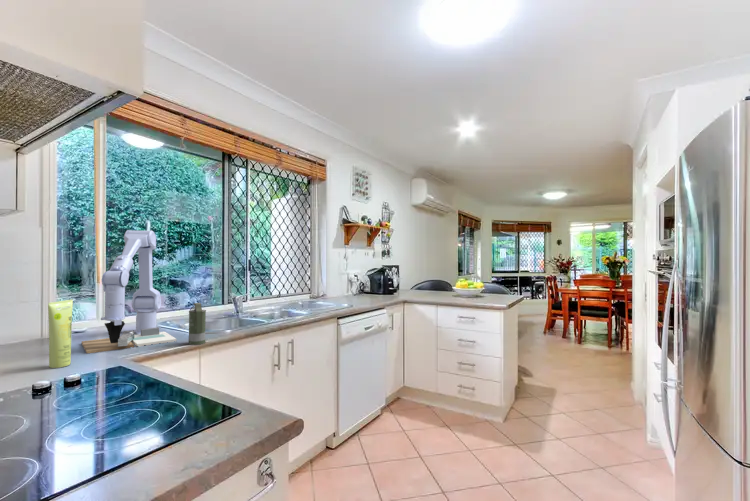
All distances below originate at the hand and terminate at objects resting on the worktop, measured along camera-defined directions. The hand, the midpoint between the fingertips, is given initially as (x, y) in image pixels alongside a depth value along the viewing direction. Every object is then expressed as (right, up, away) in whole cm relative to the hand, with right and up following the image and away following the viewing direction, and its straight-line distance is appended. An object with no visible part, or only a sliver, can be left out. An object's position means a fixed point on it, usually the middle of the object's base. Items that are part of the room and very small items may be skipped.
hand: (114, 342), depth 132 cm
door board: (+5, -2, +14) cm, 15 cm away
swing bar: (+1, -1, +5) cm, 5 cm away
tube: (-2, -2, -21) cm, 21 cm away
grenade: (+25, -3, +9) cm, 27 cm away
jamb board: (-5, -2, +4) cm, 7 cm away
